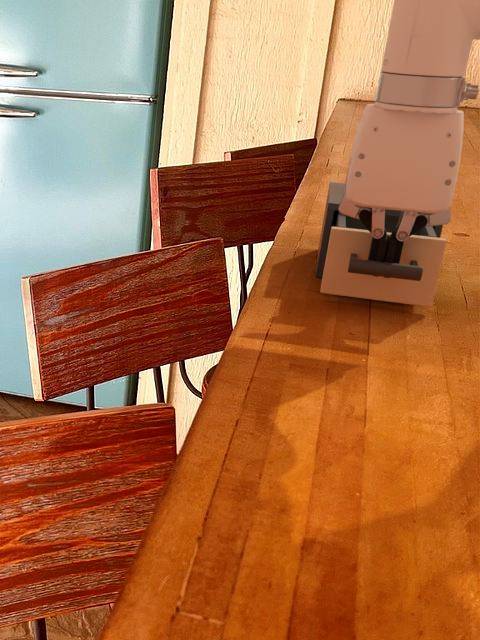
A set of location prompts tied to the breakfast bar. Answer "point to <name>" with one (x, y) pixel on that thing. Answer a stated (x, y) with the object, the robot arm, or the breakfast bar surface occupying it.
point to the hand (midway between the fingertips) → (380, 273)
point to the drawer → (382, 264)
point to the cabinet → (329, 221)
